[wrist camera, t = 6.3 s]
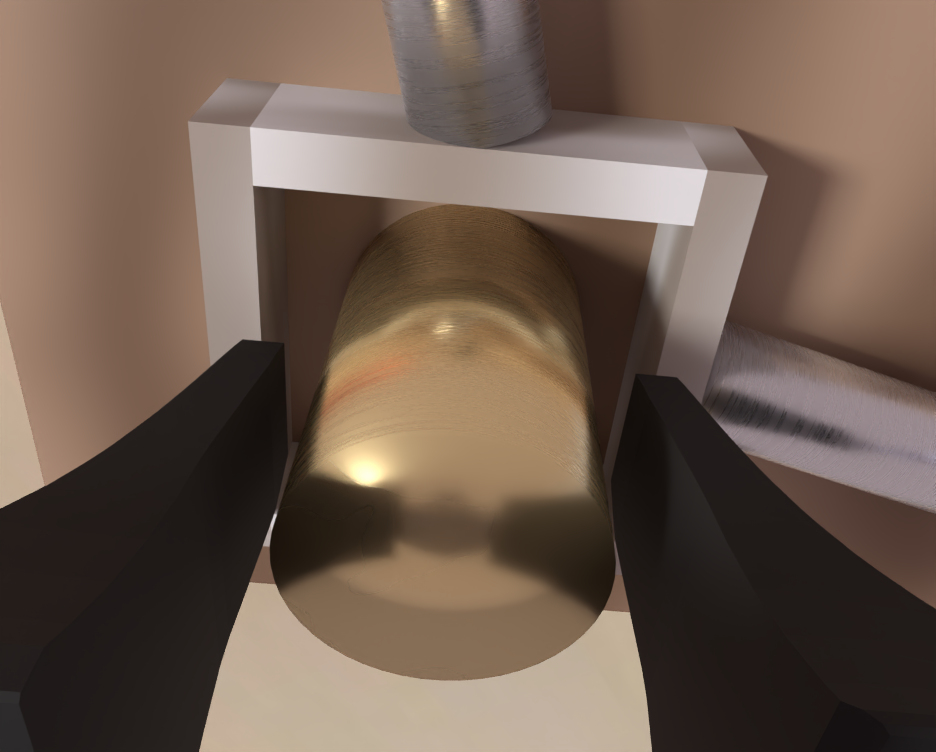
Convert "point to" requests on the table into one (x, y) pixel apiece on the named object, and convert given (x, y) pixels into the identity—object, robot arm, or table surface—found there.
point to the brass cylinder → (450, 458)
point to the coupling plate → (468, 203)
